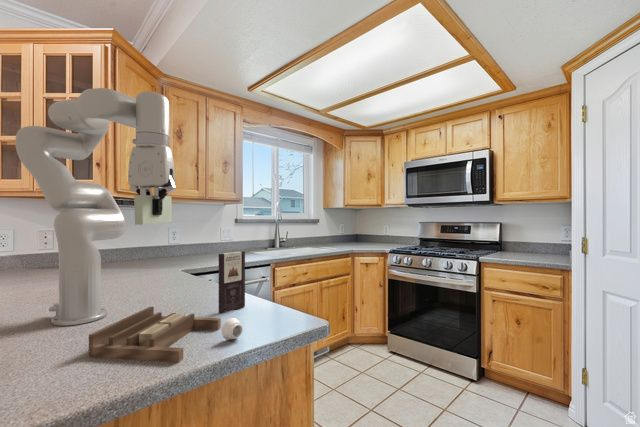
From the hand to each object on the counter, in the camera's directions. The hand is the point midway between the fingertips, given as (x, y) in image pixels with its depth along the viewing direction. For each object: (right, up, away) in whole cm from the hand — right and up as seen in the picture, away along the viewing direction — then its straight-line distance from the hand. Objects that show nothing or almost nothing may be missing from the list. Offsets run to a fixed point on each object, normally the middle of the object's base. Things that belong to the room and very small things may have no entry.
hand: (152, 214), depth 78 cm
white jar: (+22, -30, -5) cm, 38 cm away
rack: (+5, -30, -6) cm, 31 cm away
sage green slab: (+1, +2, +7) cm, 7 cm away
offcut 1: (+6, -30, -9) cm, 32 cm away
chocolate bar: (+15, -30, +19) cm, 39 cm away
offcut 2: (+6, -30, -2) cm, 31 cm away
